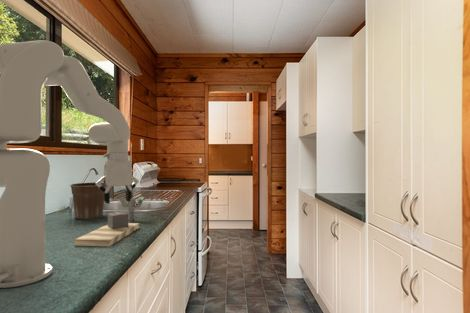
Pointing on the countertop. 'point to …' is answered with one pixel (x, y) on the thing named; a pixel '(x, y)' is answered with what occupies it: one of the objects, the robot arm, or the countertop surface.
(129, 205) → the mechanical component
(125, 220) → the grey and orange block
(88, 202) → the plant pot
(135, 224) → the light wood flat block
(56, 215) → the countertop surface
